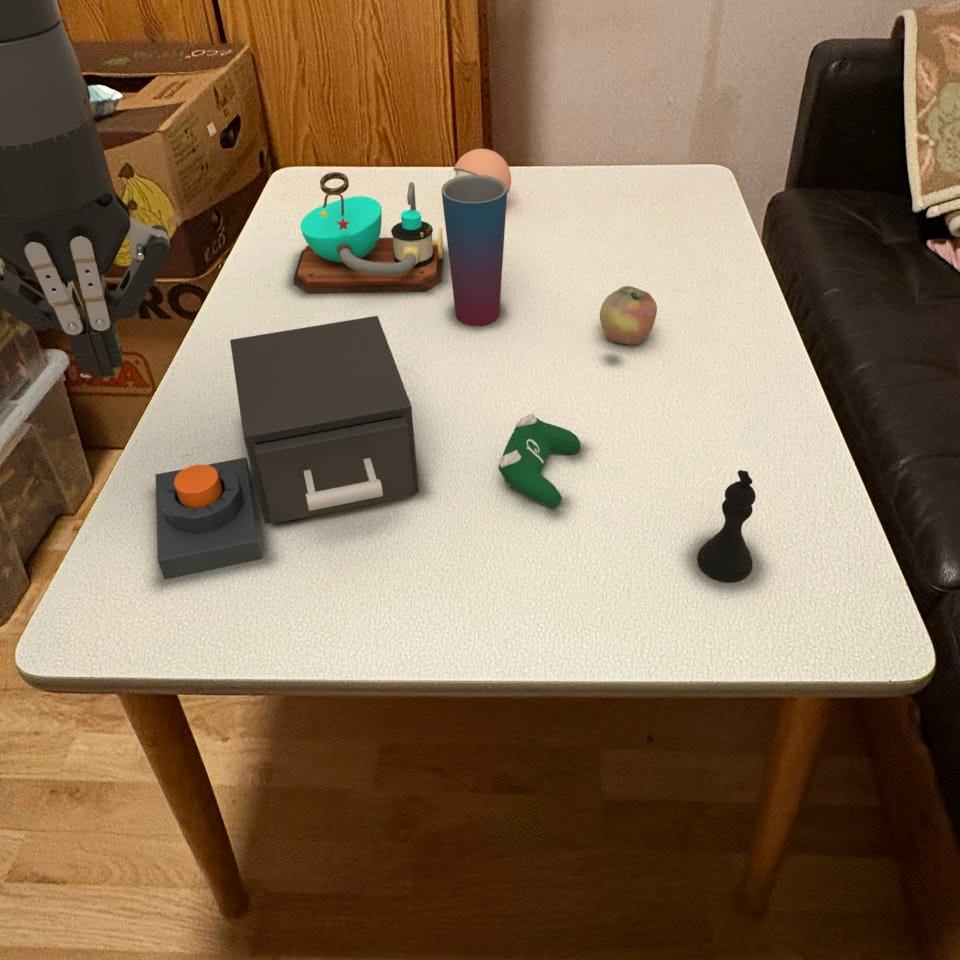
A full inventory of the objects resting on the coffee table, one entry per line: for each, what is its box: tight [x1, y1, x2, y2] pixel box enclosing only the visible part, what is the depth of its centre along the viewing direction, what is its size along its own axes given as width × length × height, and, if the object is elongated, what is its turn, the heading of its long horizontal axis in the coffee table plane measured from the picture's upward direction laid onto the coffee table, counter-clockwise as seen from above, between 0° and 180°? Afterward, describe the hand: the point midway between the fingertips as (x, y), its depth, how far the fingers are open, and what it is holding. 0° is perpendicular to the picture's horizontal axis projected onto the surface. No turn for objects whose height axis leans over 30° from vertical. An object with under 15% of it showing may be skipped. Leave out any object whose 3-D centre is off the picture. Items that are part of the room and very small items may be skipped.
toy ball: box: [453, 148, 512, 195], centre depth 122 cm, size 8×8×8 cm
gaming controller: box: [498, 412, 581, 508], centre depth 82 cm, size 9×4×6 cm
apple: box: [599, 285, 658, 346], centre depth 97 cm, size 6×8×6 cm
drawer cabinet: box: [229, 315, 420, 524], centre depth 83 cm, size 15×14×10 cm
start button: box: [174, 463, 222, 508], centre depth 76 cm, size 4×4×2 cm
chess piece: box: [696, 469, 757, 583], centre depth 71 cm, size 4×4×10 cm
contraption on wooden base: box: [293, 171, 445, 294], centre depth 106 cm, size 14×18×15 cm
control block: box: [155, 457, 263, 580], centre depth 78 cm, size 11×8×4 cm
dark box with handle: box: [254, 417, 416, 524], centre depth 80 cm, size 18×12×8 cm
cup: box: [441, 175, 508, 327], centre depth 99 cm, size 7×7×15 cm
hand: (105, 371), depth 62 cm, fingers closed
